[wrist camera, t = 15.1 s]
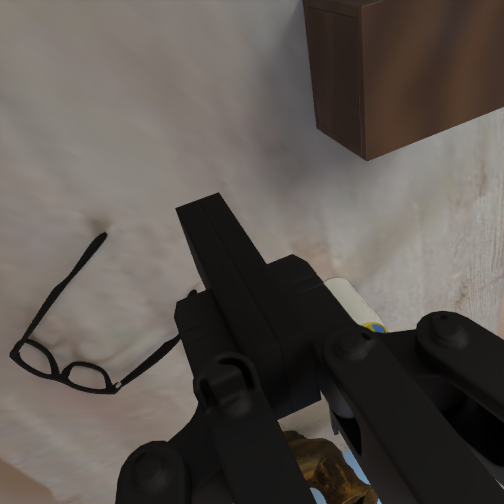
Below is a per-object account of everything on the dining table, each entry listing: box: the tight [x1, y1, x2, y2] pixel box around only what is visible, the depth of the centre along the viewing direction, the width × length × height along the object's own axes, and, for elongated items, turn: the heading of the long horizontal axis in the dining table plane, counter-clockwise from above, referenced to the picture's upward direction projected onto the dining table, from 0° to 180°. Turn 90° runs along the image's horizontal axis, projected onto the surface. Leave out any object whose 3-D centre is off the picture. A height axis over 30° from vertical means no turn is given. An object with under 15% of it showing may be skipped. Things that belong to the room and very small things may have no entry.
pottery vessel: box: [283, 431, 378, 504], centre depth 79 cm, size 25×11×20 cm, turn 115°
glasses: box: [9, 232, 197, 394], centre depth 52 cm, size 17×18×5 cm
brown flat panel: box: [356, 0, 504, 161], centre depth 41 cm, size 17×14×1 cm
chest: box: [303, 0, 373, 158], centre depth 45 cm, size 16×14×9 cm
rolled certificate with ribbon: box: [324, 278, 389, 333], centre depth 59 cm, size 8×9×25 cm
